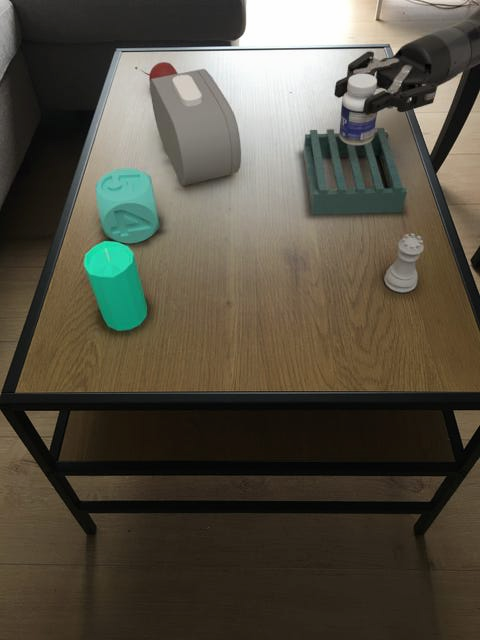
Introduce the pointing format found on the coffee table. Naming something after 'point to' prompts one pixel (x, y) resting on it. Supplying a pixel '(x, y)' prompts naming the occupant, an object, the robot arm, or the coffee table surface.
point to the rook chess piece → (405, 265)
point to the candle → (116, 285)
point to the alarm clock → (196, 126)
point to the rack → (359, 197)
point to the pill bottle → (357, 111)
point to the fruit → (161, 70)
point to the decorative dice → (127, 205)
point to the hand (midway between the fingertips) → (351, 99)
